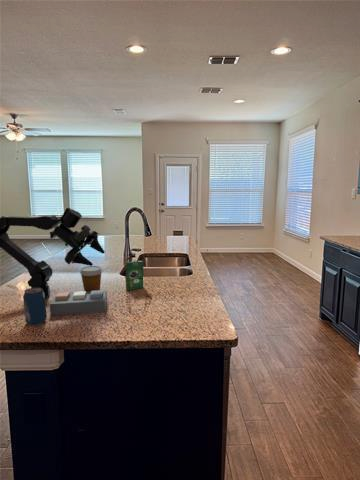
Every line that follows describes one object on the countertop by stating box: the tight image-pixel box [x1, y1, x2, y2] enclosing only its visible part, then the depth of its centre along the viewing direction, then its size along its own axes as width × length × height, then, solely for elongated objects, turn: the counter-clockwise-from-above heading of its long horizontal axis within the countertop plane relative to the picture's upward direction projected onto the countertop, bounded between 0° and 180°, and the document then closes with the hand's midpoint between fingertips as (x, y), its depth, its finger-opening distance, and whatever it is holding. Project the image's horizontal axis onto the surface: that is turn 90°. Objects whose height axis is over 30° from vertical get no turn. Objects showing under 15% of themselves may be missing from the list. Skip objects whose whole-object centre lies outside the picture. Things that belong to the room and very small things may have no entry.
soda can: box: [22, 287, 48, 326], centre depth 111 cm, size 7×7×12 cm
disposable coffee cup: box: [79, 265, 103, 292], centre depth 139 cm, size 10×10×12 cm
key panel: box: [49, 290, 108, 316], centre depth 125 cm, size 20×12×4 cm, turn 99°
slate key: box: [90, 289, 104, 299], centre depth 126 cm, size 4×4×4 cm
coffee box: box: [125, 260, 145, 291], centre depth 147 cm, size 8×3×13 cm, turn 119°
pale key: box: [73, 291, 86, 300], centre depth 125 cm, size 4×4×4 cm
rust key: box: [54, 291, 70, 301], centre depth 124 cm, size 4×4×4 cm
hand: (98, 258), depth 132 cm, fingers open, 9 cm apart
